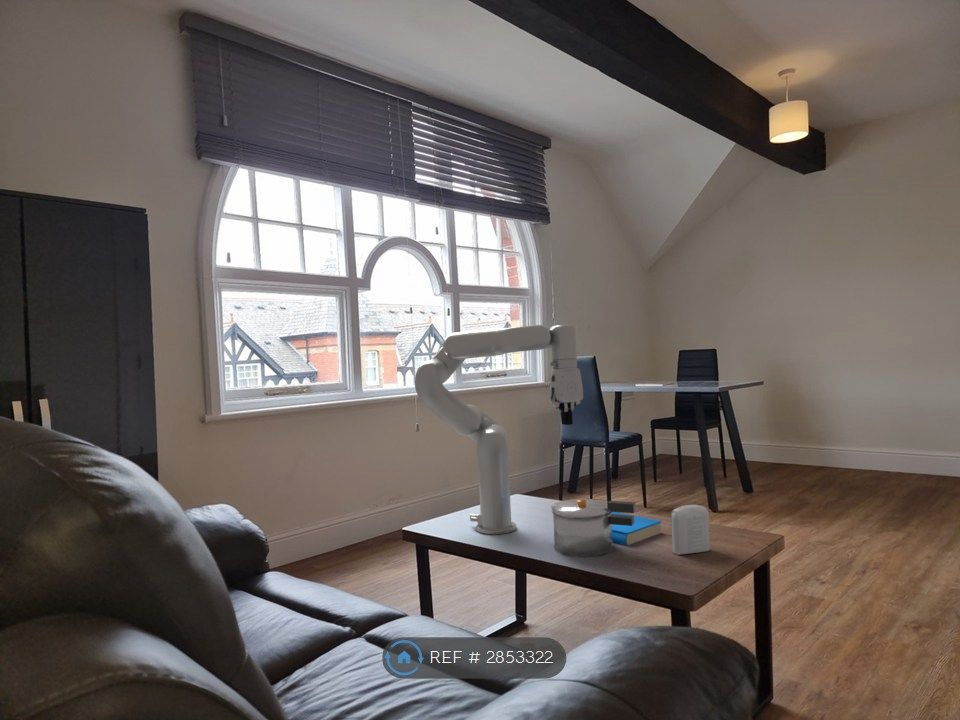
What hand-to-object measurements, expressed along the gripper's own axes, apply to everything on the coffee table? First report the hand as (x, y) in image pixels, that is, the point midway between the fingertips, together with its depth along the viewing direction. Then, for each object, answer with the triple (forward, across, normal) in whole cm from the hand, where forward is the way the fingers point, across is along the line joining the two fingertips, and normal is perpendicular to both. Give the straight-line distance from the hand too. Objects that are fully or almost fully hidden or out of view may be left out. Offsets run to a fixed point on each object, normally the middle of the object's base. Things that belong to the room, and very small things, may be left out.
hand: (567, 424), depth 197 cm
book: (+33, +6, -10) cm, 35 cm away
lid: (+22, -9, -20) cm, 31 cm away
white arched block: (+32, +8, -38) cm, 51 cm away
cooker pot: (+32, -9, -20) cm, 39 cm away
